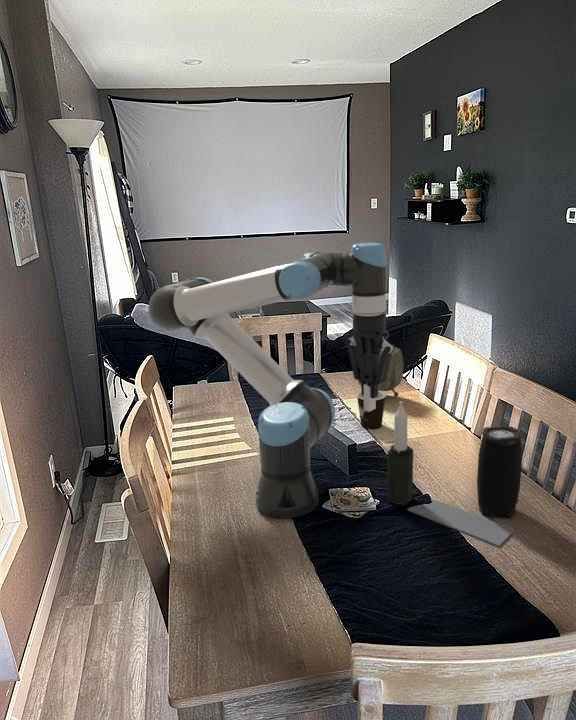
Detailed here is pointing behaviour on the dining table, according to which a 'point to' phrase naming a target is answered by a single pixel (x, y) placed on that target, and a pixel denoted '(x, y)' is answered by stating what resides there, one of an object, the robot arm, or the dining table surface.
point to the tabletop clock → (392, 371)
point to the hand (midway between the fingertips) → (369, 409)
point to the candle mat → (464, 522)
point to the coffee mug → (371, 412)
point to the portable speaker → (499, 471)
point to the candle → (400, 461)
